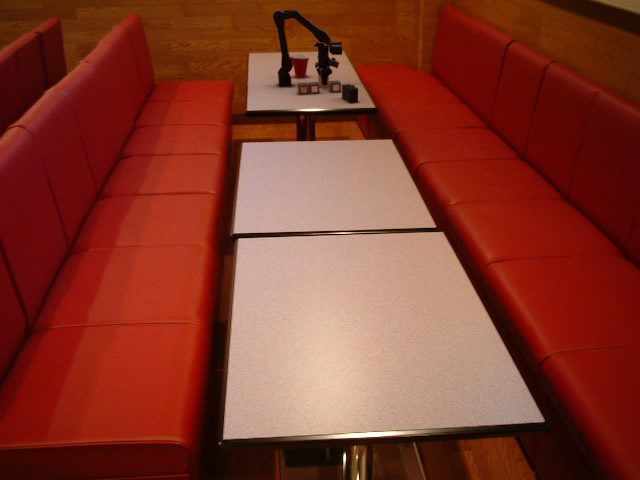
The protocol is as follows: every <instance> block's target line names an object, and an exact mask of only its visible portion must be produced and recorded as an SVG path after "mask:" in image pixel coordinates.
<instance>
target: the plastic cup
mask: <svg viewBox="0 0 640 480" xmlns="http://www.w3.org/2000/svg"><path fill="white" fill-rule="evenodd" d="M292 56H293V62H294V65H293V71H294V76H295V78H296V79H303V78H304V79H305V78H306V76H307V70H308V63H309V59H310V56H309V55H304V54H292V55H290V57H292Z"/></svg>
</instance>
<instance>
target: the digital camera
mask: <svg viewBox="0 0 640 480" xmlns="http://www.w3.org/2000/svg"><path fill="white" fill-rule="evenodd" d="M341 99H342V100H344V101H346V102H348V103H349V104H355V103H356V104H357V103H359V88H358V87H356V86H355V85H354V84H351V83H347V84H341Z"/></svg>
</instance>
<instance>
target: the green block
mask: <svg viewBox="0 0 640 480" xmlns="http://www.w3.org/2000/svg"><path fill="white" fill-rule="evenodd" d="M329 91H330V93H332V94H333V93H342V83H341V81H340V80H338V79H337V80H329Z"/></svg>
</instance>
